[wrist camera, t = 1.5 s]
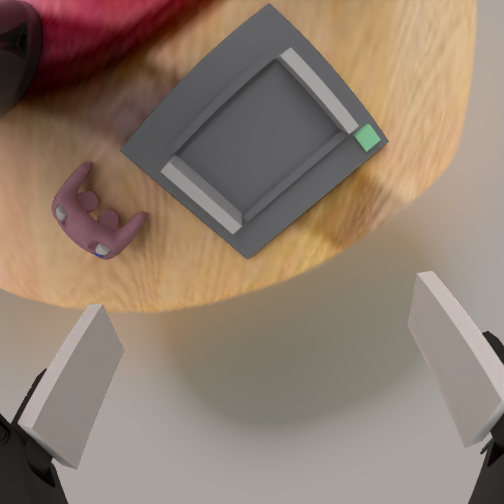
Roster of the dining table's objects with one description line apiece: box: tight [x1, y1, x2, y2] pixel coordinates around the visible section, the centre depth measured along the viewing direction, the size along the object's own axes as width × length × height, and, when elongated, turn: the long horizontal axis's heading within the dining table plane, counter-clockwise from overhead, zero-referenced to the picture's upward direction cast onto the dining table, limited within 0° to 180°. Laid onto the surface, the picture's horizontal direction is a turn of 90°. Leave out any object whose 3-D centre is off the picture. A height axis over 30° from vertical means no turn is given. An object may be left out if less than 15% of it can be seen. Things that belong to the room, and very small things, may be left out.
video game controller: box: [52, 162, 146, 260], centre depth 29 cm, size 10×5×7 cm, turn 42°
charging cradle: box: [120, 3, 389, 259], centre depth 27 cm, size 18×20×4 cm
